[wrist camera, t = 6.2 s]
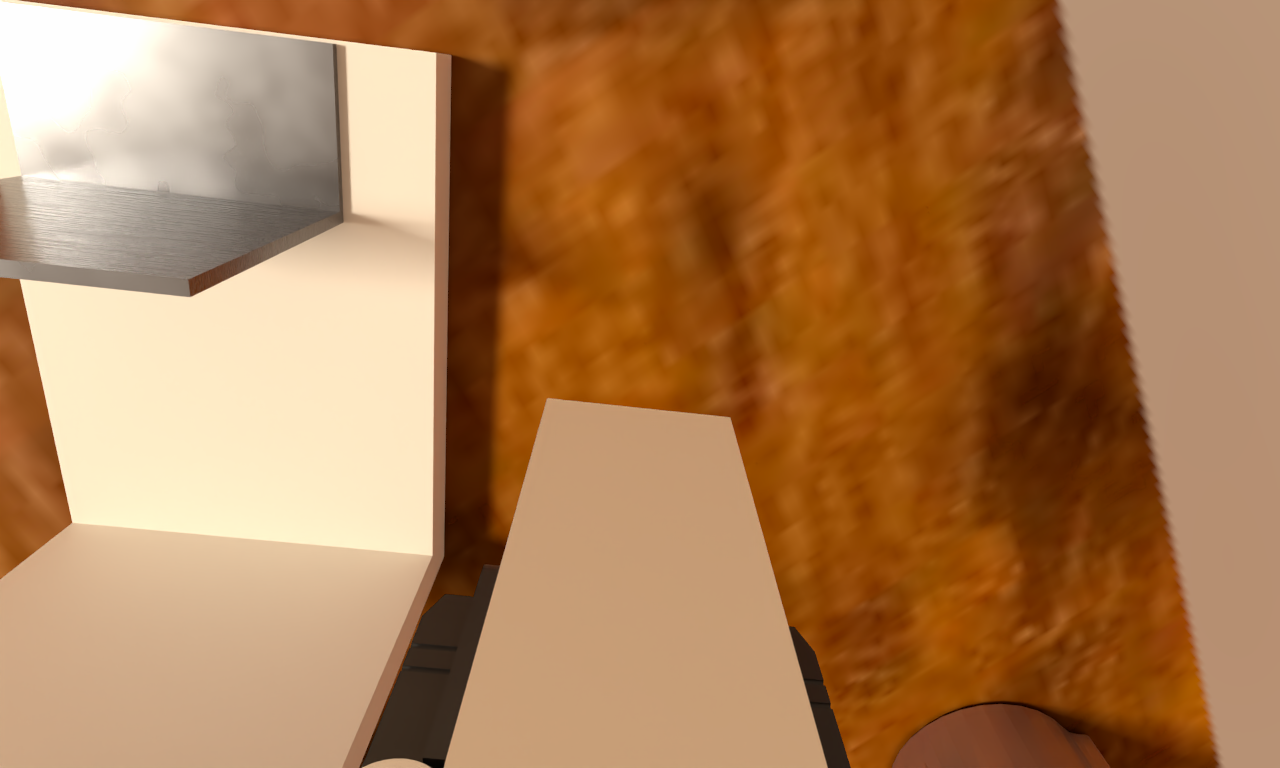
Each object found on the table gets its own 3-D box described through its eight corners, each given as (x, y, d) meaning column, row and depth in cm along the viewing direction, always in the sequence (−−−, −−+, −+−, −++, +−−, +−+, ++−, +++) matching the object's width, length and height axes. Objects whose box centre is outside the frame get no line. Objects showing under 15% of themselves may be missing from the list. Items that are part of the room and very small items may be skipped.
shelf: (451, 55, 24) (157, 14, 9) (444, 556, 32) (276, 972, 17) (11, -1, 23) (-1061, -139, 9) (112, 526, 31) (-364, 931, 16)
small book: (729, 412, 13) (911, 1064, 4) (680, 683, 15) (735, 1445, 7) (548, 393, 12) (369, 1032, 4) (527, 669, 15) (387, 1433, 6)
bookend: (336, 44, 22) (156, 22, 14) (343, 222, 24) (190, 297, 16) (-7, 1, 22) (-407, -48, 13) (31, 187, 24) (-296, 245, 15)
